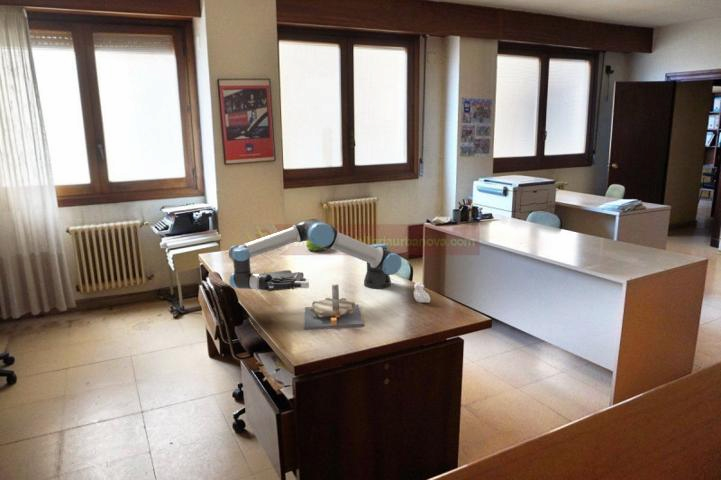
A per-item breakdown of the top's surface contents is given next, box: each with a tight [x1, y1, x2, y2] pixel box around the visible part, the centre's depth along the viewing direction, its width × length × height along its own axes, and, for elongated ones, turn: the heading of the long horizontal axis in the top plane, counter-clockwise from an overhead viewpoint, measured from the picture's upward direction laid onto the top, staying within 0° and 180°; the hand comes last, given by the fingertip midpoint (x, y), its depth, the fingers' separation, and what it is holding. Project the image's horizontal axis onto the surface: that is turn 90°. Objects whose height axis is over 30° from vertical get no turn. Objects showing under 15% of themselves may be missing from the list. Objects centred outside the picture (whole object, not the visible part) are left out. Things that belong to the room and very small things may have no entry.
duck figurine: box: [413, 281, 431, 304], centre depth 250 cm, size 12×8×11 cm
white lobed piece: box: [309, 283, 356, 317], centre depth 231 cm, size 21×21×14 cm
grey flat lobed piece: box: [262, 269, 304, 281], centre depth 286 cm, size 28×5×28 cm
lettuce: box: [305, 241, 326, 252], centre depth 362 cm, size 15×25×16 cm
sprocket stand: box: [303, 304, 364, 330], centre depth 232 cm, size 26×25×4 cm
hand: (308, 285), depth 226 cm, fingers closed
